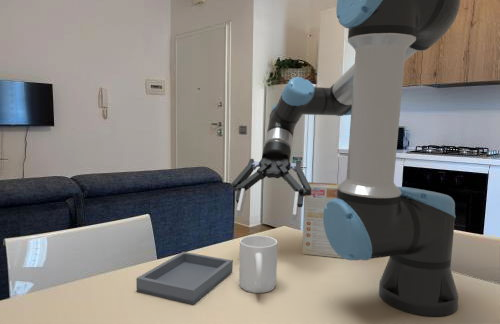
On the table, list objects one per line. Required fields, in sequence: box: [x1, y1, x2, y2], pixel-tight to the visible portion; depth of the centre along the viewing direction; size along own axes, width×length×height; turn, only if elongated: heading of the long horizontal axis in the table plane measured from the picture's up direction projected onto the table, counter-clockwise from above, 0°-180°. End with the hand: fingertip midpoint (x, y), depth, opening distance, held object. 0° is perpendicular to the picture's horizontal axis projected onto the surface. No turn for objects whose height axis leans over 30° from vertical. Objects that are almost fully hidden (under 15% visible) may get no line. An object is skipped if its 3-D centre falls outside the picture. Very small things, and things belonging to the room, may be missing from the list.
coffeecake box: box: [302, 181, 343, 259], centre depth 105 cm, size 15×7×20 cm, turn 76°
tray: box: [135, 251, 234, 306], centre depth 85 cm, size 14×18×3 cm
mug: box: [238, 235, 278, 294], centre depth 82 cm, size 12×8×10 cm
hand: (266, 215), depth 91 cm, fingers open, 13 cm apart
